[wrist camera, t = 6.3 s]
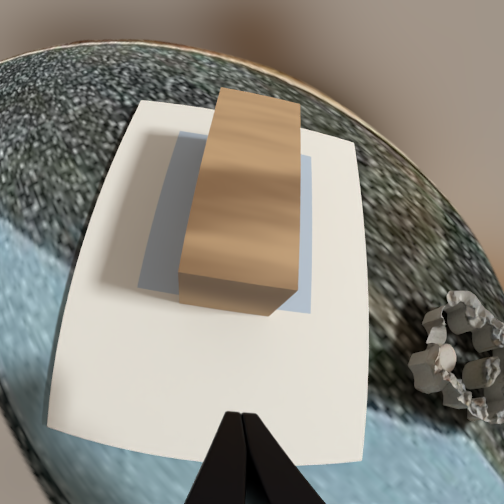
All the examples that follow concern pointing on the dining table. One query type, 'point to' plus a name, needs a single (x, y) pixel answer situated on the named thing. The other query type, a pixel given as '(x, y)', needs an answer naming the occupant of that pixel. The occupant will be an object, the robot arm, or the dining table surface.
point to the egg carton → (475, 372)
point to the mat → (212, 311)
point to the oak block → (245, 208)
